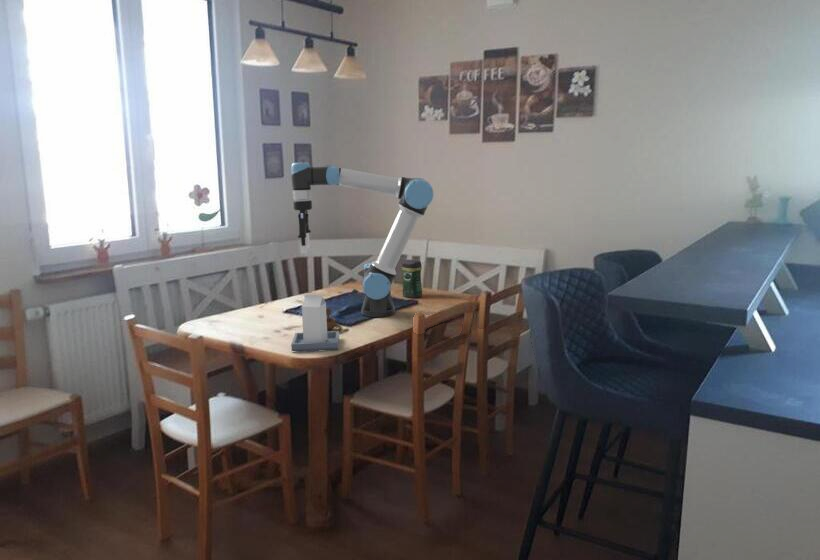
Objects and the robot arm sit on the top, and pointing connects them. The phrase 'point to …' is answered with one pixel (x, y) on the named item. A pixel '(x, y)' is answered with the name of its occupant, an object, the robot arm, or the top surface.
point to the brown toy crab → (332, 323)
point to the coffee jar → (412, 278)
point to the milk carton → (314, 318)
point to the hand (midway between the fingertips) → (305, 250)
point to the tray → (328, 345)
